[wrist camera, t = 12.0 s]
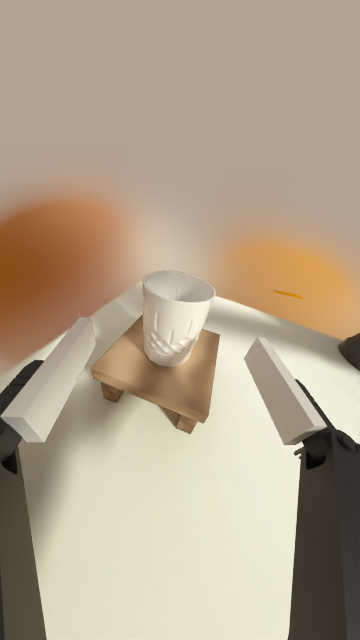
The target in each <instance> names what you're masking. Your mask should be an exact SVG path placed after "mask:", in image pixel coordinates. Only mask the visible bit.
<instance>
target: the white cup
mask: <svg viewBox="0 0 360 640" xmlns="http://www.w3.org/2000/svg"><path fill="white" fill-rule="evenodd" d="M215 295H216V292H215V289H214V288H213V286H212V285H210V284H209V283H208V282H206V281H205V280H203V279H201V278H199V277H196V276H193V275H191V274H187V273H183V272H177V271H156V272H152V273H150V274H147V275H146V276H145V277H144V278H143V334H144V352H145V353H146V355H147V357H148V358H149V360H151V361H152V362H154V363H156V364H157V365H159V366H165V367H175V366H179V365H182V364H183V363H184V362H186V361H187V360H188V359H189V357H190V355H191V352H192V349H193V347H194V345H195V343H196V342H197V340H198V337H199V335H200V332H201V330H202V328H203V326H204V323H205V321H206V318H207V315H208V313H209V310H210V308H211V305H212V303H213V300H214V298H215Z"/></svg>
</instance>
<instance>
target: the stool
mask: <svg viewBox="0 0 360 640" xmlns="http://www.w3.org/2000/svg"><path fill="white" fill-rule="evenodd" d="M219 337H220V335H219V334H216V333H213V332H210V331H207V330H204V329H202V330H201V332H200V335H199V337H198V340H197V342H196V343H195V345H194V347H193V349H192V352H191V355H190V357H189V359H188V360H187V361H186V362H184V363H183V364H182V365H179V366H175V367H165V366H159V365H157V364H156V363H154V362H152V361H151V360H149V358H148V357H147V355H146V353H145V352H144V334H143V315H142V316H141V317H140V318H139V319H138V320H137V321H136V322H135V323H134V324H133V325H132V326H131V327H130V328H129V329H128V330H127V331H126V332H125V333H124V334H123V335H122V337H121V338H120V339H119V340H118V341H117V342H116V343H115V344H114V345H113V346H112V347H111V348H110V349H109V350H108V351H107V352H106V353H105V354H104V355H103V356H102V357H101V358H100V359H99V361H98V362H97V363H96V364H95V365H94V366H93V367H92V368H91V370H92V375H93V379H96V380H98V381H101V386H102V391H103V396H104V398H106V399H109V400H111V401H113V402H117V401H118V399H119V398H120V396H121V395H122V393H123V391H125V392H128V393H130V394H133V395H135V396H137V397H140V398H142V399H145V400H147V401H150V402H152V403H155V404H157V405H159V406H162V407H164V408H167V409H169V410H172V411H174V412H177V413H179V414H180V417H179V420H178V424H177V427H176V428H177V429H180V430H182V431H184V432H187V433H189V434H191V432H192V431H193V429H194V427H195V425H196V423H197V422H198V421H199V422H201V423H204V422H205V420H206V419H207V417H208V415H209V408H210V401H211V394H212V387H213V380H214V373H215V366H216V358H217V351H218V344H219Z"/></svg>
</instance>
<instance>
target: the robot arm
mask: <svg viewBox="0 0 360 640" xmlns="http://www.w3.org/2000/svg"><path fill="white" fill-rule="evenodd" d="M95 346H96V342H95V336H94V330H93V325H92V319H91V318H87V317H79V319H78V320H77V321H76V322H75V324H74V325H73V326H72V327H71V329H70V330H69V331H68V332H67V334H66V335H65V336H64V337H63V338H62V340H61V341H60V342H59V343H58V345H57V346H56V347H55V348H54V350H53V351H52V352H51V353H50V355H49V356H48V357H47V358H46V360H45V361H43V360H34V361H33V362H31V363H30V364H28V365H27V366H25V367H24V368H23V369H22V370H21V371H20V372H19V374H18V375H17V376H16V378H14V379H13V380H12V381H11V382H10V384H9V386H7V387H6V388H5V389H4V390H3V391H2V393H1V394H0V640H47V639H46V632H45V625H44V619H43V612H42V605H41V598H40V591H39V585H38V578H37V571H36V564H35V557H34V551H33V544H32V537H31V530H30V523H29V517H28V510H27V503H26V496H25V490H24V483H23V476H22V469H21V462H20V456H19V449H18V447H17V446H18V444H19V442H20V441H21V439H22V438H23V439H24V440H25V441H26V442H35V443H44V442H45V440H46V439H47V437H48V435H49V433H50V431H51V429H52V427H53V425H54V423H55V422H56V420H57V418H58V416H59V414H60V412H61V410H62V408H63V406H64V405H65V403H66V401H67V399H68V397H69V395H70V393H71V391H72V389H73V388H74V386H75V384H76V382H77V380H78V378H79V376H80V374H81V372H82V371H83V369H84V367H85V365H86V363H87V361H88V359H89V357H90V355H91V354H92V352H93V350H94V348H95ZM339 350H340V352H341V353H342V354H343V356H344V357H345V358H346V359H347V360H348V361H349V362H351V363H352V364H353V365H354V366H355V367H357V368H358V369H359V370H360V333H359V334H356V335H355V336H353V337H349V338H346V339H345V340H344V341H343V342H342V343H341V344H340V345H339ZM244 360H245V362H246V364H247V366H248V369H249V371H250V373H251V375H252V377H253V379H254V381H255V384H256V386H257V388H258V390H259V392H260V394H261V396H262V399H263V401H264V403H265V405H266V407H267V409H268V411H269V414H270V416H271V418H272V420H273V422H274V424H275V426H276V429H277V431H278V433H279V435H280V437H281V439H282V441H283V444H284V445H296V444H298V443H300V442H301V441H302V443H303V444H304V447H302V448H300V449H298V450H296V451H295V452H294V455H298V454H300V453H301V456H300V457H299V459H301V465H300V479H299V494H298V509H297V524H296V539H295V553H294V568H293V583H292V598H291V612H290V627H289V636H288V640H360V444H357V443H356V442H355V441H354V440H353V439H352V438H351V437H350V436H348V435H347V434H346V433H344V432H342V431H340V430H336V429H335V427H334V426H333V425H332V423H331V422H330V421H329V419H328V418H327V417H326V415H325V414H324V412H323V411H322V410H321V408H320V407H319V406H318V404H317V403H316V402H315V401H314V399H313V397H312V396H311V395H310V393H309V392H308V390H307V389H306V388H305V386H304V385H303V384H302V383H300V382H299V381H298V380H297V379H294V378H293V376H292V375H291V373H290V372H289V371H288V369H287V368H286V366H285V365H284V363H283V362H282V361H281V359H280V358H279V356H278V355H277V353H276V352H275V351H274V349H273V348H272V346H271V345H270V343H269V342H268V341H267V339H266V338H263V337H257V338H256V340H255V341H254V343H253V345H252V346H251V348H250V349H249V351H248V353H247V354H246V356H245V358H244Z"/></svg>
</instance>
